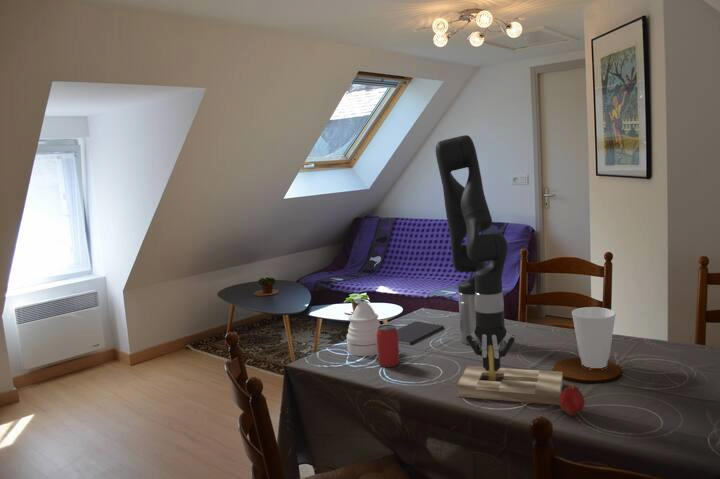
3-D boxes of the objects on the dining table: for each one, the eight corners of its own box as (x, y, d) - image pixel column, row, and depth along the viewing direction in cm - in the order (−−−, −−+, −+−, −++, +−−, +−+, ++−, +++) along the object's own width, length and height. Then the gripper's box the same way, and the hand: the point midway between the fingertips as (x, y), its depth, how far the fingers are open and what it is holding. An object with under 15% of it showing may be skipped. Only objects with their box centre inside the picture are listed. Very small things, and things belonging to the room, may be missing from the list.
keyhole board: (467, 377, 177) (467, 366, 176) (562, 383, 167) (562, 371, 167) (457, 396, 164) (457, 384, 163) (560, 404, 155) (559, 392, 154)
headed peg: (486, 384, 170) (484, 339, 168) (501, 385, 168) (499, 339, 167) (483, 390, 166) (481, 343, 164) (499, 391, 165) (497, 344, 163)
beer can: (398, 367, 188) (395, 330, 187) (377, 367, 190) (374, 330, 188) (400, 360, 195) (398, 323, 193) (380, 360, 196) (378, 324, 194)
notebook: (410, 346, 209) (444, 329, 225) (410, 342, 209) (443, 325, 225) (381, 341, 217) (415, 325, 233) (380, 336, 217) (415, 321, 233)
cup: (622, 363, 179) (622, 310, 177) (606, 376, 171) (606, 320, 168) (582, 356, 187) (581, 305, 185) (565, 367, 179) (564, 314, 176)
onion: (555, 411, 151) (554, 380, 150) (578, 409, 151) (577, 378, 150) (565, 421, 145) (564, 389, 144) (588, 419, 146) (588, 387, 145)
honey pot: (341, 355, 204) (337, 302, 201) (355, 342, 216) (351, 292, 213) (378, 357, 199) (374, 303, 197) (390, 344, 211) (386, 293, 209)
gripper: (517, 305, 165) (519, 366, 168) (466, 303, 170) (469, 363, 173) (514, 312, 158) (516, 377, 161) (461, 311, 163) (464, 373, 166)
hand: (491, 369), depth 167 cm, fingers closed on headed peg, 2 cm apart
